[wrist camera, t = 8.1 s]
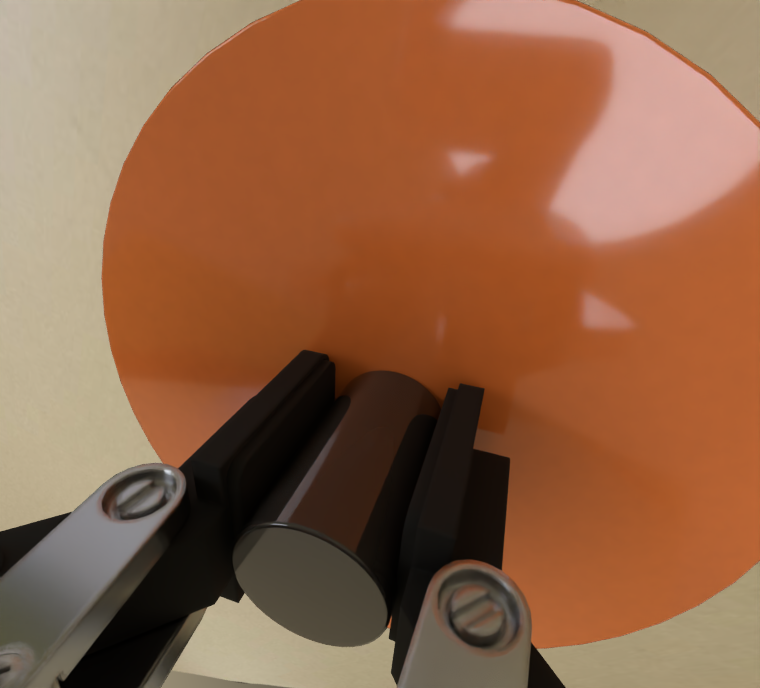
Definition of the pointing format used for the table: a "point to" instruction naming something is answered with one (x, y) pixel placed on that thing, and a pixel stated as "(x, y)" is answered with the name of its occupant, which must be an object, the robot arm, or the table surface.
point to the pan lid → (458, 297)
